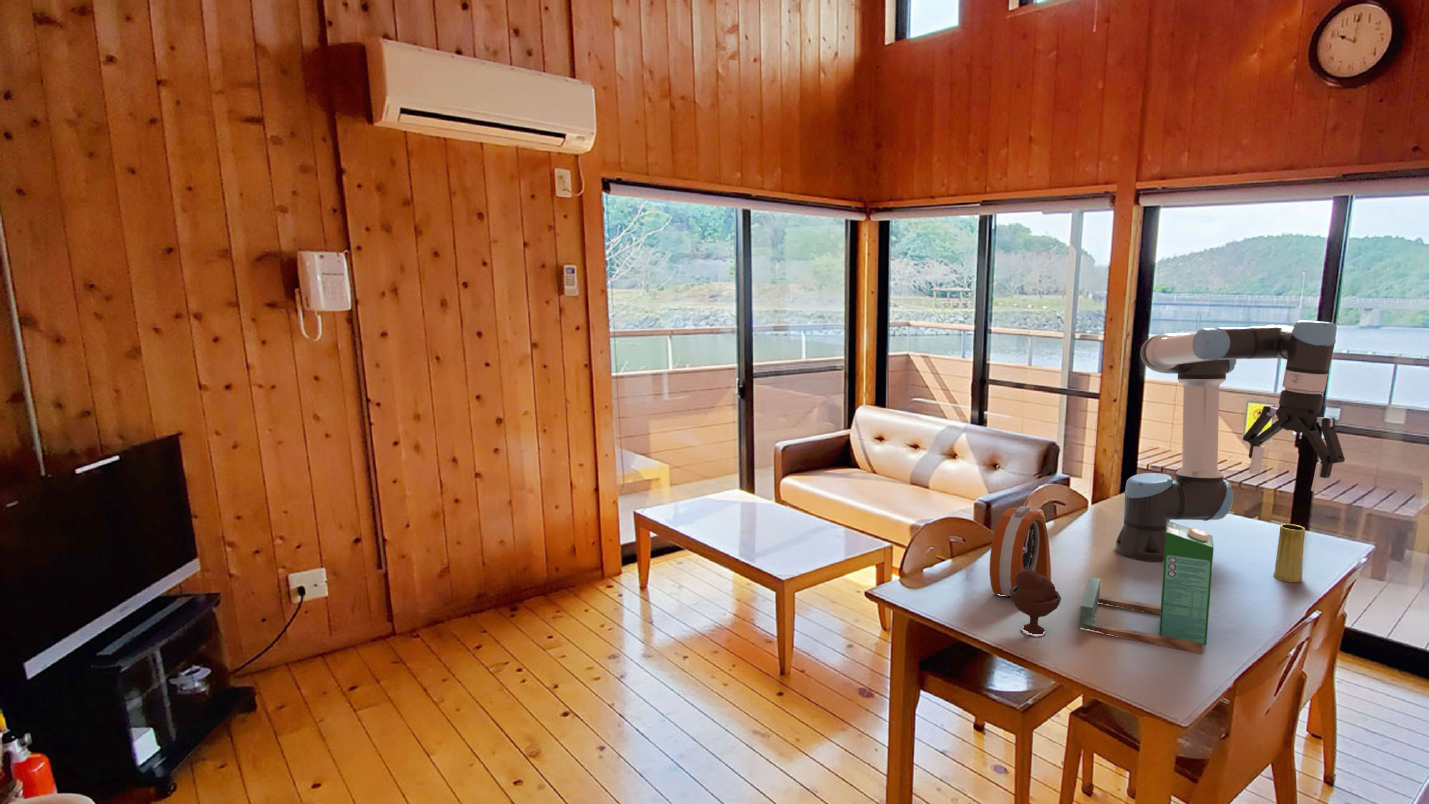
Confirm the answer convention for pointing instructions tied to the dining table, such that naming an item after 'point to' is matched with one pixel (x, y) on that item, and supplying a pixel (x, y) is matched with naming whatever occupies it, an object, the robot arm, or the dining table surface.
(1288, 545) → the vase
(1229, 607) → the dining table surface
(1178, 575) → the milk carton
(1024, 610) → the ice cream bowl
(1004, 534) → the alarm clock
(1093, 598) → the track
